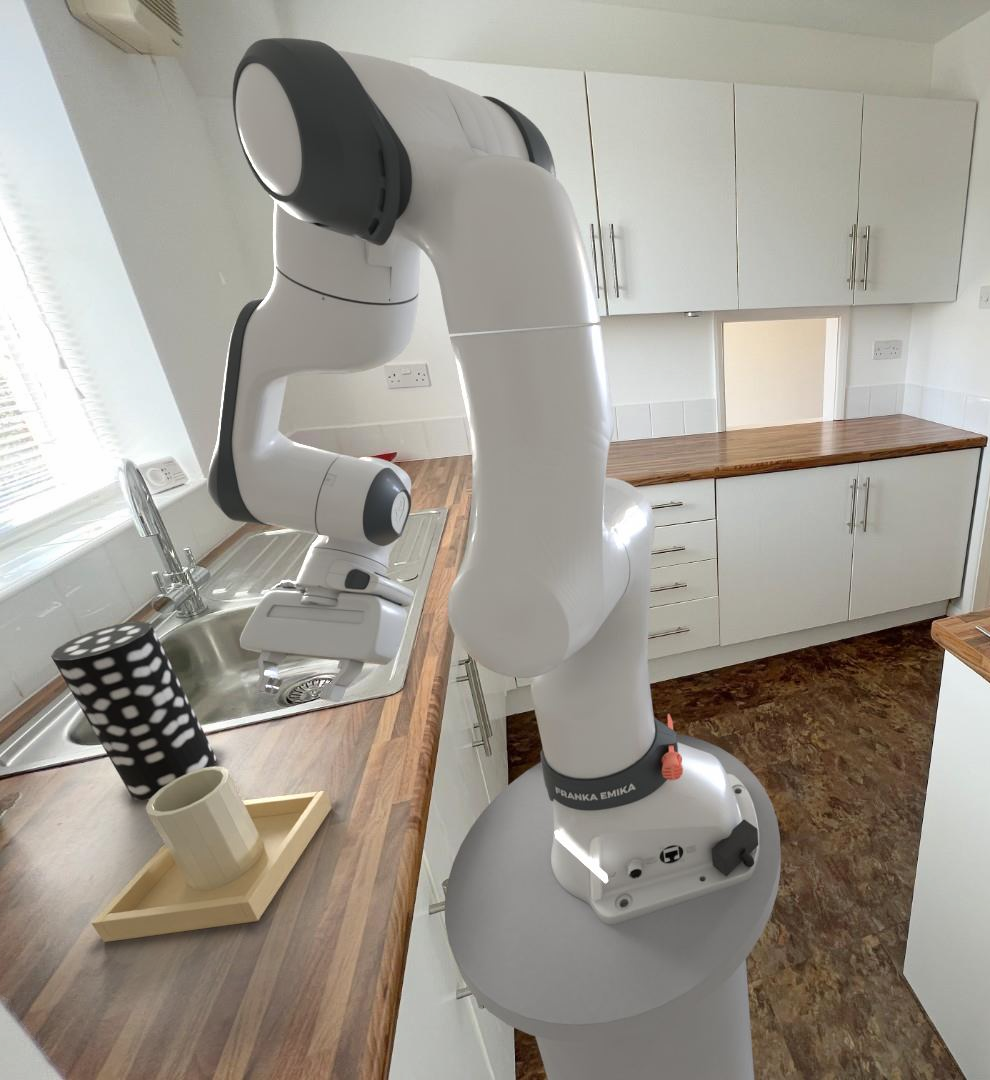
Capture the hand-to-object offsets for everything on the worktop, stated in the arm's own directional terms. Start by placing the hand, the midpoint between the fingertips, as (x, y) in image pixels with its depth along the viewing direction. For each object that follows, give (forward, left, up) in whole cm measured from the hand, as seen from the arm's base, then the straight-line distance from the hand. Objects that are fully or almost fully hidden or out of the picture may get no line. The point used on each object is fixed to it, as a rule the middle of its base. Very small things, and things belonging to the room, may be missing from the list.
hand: (297, 696), depth 67 cm
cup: (+4, +12, -12) cm, 17 cm away
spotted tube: (+21, -4, -13) cm, 25 cm away
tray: (+4, +12, -12) cm, 18 cm away
